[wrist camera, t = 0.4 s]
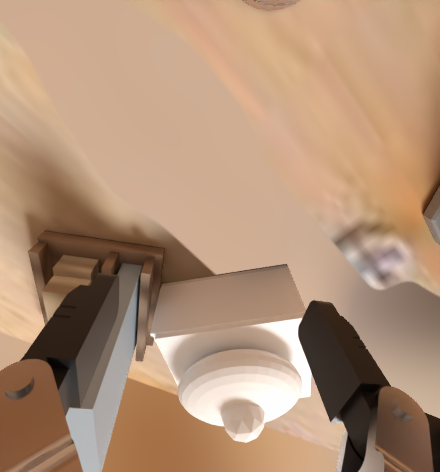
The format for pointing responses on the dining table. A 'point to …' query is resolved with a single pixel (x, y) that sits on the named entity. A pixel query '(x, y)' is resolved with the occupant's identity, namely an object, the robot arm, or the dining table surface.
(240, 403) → the butter dish
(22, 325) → the dining table surface
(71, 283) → the offcut upper
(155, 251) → the walnut rack
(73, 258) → the offcut lower
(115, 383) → the grey board
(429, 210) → the tankard
